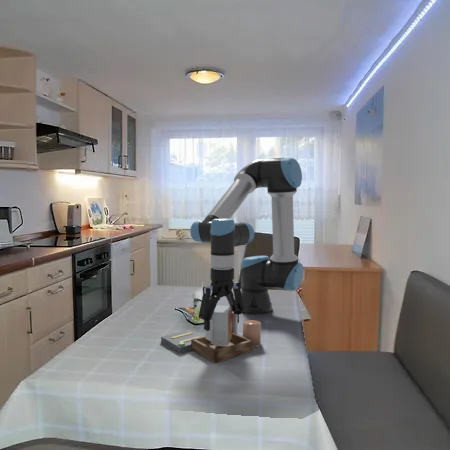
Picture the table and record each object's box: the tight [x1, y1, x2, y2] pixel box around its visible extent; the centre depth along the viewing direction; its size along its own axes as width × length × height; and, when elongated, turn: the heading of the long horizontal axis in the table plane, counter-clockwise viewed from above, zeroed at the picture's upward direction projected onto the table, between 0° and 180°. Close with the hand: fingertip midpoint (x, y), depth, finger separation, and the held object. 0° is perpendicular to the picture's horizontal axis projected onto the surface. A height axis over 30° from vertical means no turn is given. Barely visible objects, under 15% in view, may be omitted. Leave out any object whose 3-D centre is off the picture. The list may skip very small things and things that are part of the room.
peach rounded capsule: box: [242, 319, 262, 347], centre depth 138 cm, size 6×6×7 cm
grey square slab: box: [160, 329, 204, 354], centre depth 137 cm, size 12×12×3 cm
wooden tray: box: [191, 333, 254, 364], centre depth 131 cm, size 15×13×4 cm
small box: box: [211, 304, 233, 345], centre depth 131 cm, size 8×6×10 cm
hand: (221, 336), depth 131 cm, fingers closed on small box, 9 cm apart
